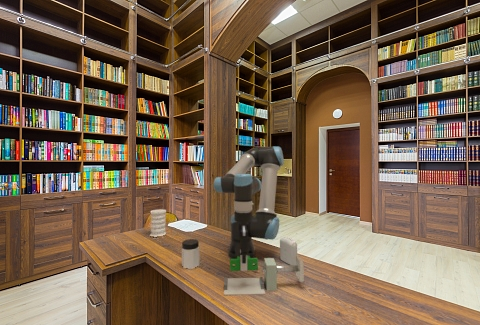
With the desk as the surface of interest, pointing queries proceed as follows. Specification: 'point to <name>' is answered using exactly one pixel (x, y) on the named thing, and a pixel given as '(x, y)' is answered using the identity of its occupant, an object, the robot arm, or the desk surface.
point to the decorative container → (158, 222)
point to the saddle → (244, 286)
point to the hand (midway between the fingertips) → (243, 267)
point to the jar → (190, 253)
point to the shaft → (292, 268)
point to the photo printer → (288, 250)
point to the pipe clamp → (238, 264)
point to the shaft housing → (270, 274)
